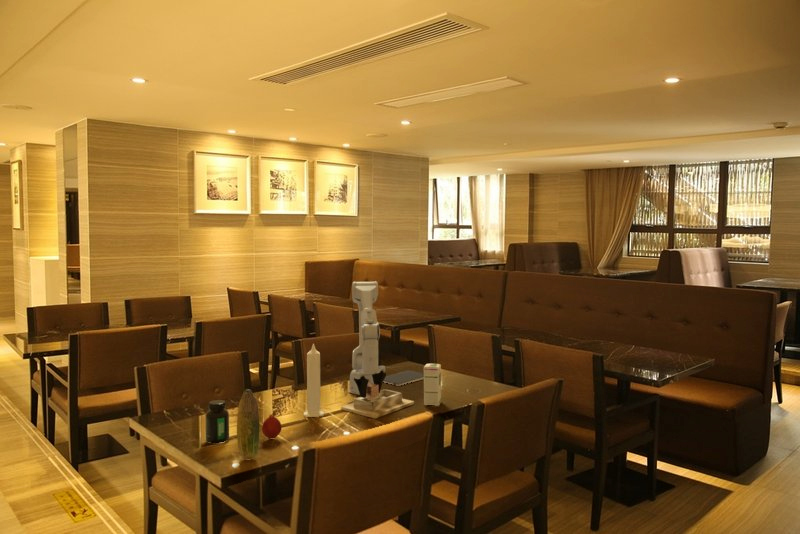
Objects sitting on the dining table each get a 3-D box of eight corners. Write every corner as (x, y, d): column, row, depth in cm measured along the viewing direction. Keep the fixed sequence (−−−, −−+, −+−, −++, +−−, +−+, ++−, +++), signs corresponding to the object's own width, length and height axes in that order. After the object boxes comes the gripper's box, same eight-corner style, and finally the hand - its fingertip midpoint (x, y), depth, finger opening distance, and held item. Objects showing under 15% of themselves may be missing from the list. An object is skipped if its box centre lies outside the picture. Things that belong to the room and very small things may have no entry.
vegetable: (232, 460, 166) (231, 390, 165) (246, 453, 172) (245, 384, 171) (250, 464, 164) (249, 392, 162) (264, 456, 169) (263, 387, 168)
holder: (375, 418, 204) (375, 406, 204) (341, 409, 214) (341, 398, 214) (414, 403, 221) (414, 393, 221) (381, 396, 231) (381, 386, 231)
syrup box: (439, 406, 218) (439, 367, 217) (423, 405, 219) (423, 366, 218) (441, 402, 224) (441, 363, 223) (425, 401, 225) (425, 362, 224)
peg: (360, 407, 213) (360, 385, 213) (370, 404, 217) (370, 382, 217) (371, 409, 210) (371, 387, 210) (380, 406, 214) (380, 384, 214)
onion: (263, 436, 186) (263, 411, 185) (282, 436, 186) (282, 410, 186) (260, 443, 180) (260, 417, 179) (280, 442, 180) (280, 416, 180)
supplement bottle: (226, 444, 179) (226, 405, 178) (203, 445, 178) (202, 405, 178) (231, 436, 186) (230, 398, 185) (208, 437, 185) (208, 399, 184)
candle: (327, 413, 210) (327, 342, 208) (318, 419, 203) (318, 346, 201) (309, 411, 212) (309, 341, 210) (299, 416, 205) (299, 344, 204)
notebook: (408, 373, 270) (376, 382, 254) (408, 370, 270) (376, 378, 254) (430, 378, 262) (398, 387, 246) (430, 374, 262) (398, 384, 246)
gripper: (364, 362, 205) (364, 401, 205) (391, 355, 216) (391, 392, 217) (349, 359, 209) (349, 397, 210) (377, 352, 220) (377, 389, 221)
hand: (370, 394), depth 214 cm, fingers open, 7 cm apart
